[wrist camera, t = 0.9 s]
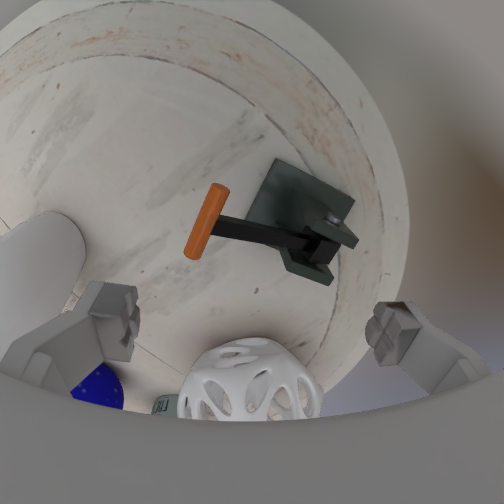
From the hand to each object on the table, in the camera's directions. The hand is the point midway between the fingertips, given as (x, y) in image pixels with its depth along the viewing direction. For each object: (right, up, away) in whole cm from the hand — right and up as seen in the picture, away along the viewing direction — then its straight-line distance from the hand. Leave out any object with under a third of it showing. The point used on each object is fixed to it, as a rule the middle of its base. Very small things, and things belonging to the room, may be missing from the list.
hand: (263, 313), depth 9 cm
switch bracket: (+5, +6, +22) cm, 24 cm away
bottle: (-25, +3, +21) cm, 33 cm away
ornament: (-27, -19, +33) cm, 46 cm away
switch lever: (+1, +4, +13) cm, 14 cm away
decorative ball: (-1, -15, +33) cm, 36 cm away
